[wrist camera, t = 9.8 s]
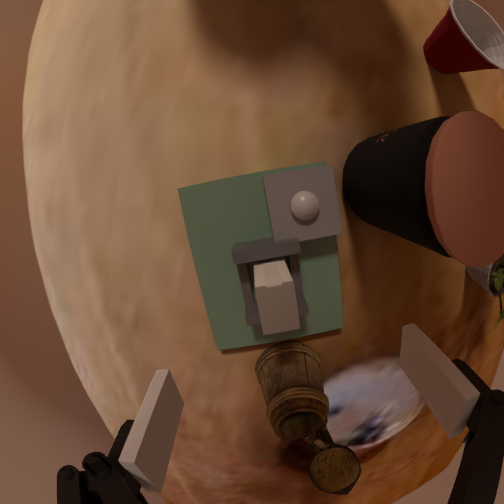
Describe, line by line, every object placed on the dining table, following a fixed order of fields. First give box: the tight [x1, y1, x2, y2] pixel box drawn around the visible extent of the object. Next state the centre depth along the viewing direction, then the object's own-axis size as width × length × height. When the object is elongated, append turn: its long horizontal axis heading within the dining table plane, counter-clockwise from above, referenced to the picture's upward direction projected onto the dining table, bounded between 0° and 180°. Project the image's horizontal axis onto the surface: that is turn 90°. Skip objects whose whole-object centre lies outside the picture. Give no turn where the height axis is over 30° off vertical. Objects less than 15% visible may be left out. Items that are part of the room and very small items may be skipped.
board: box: [178, 162, 343, 350], centre depth 30 cm, size 20×16×6 cm
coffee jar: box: [343, 111, 504, 267], centre depth 22 cm, size 11×11×18 cm
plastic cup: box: [423, 0, 504, 74], centre depth 20 cm, size 11×11×12 cm
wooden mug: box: [255, 341, 361, 495], centre depth 28 cm, size 9×14×18 cm, turn 38°
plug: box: [254, 256, 300, 335], centre depth 26 cm, size 5×3×10 cm, turn 11°
